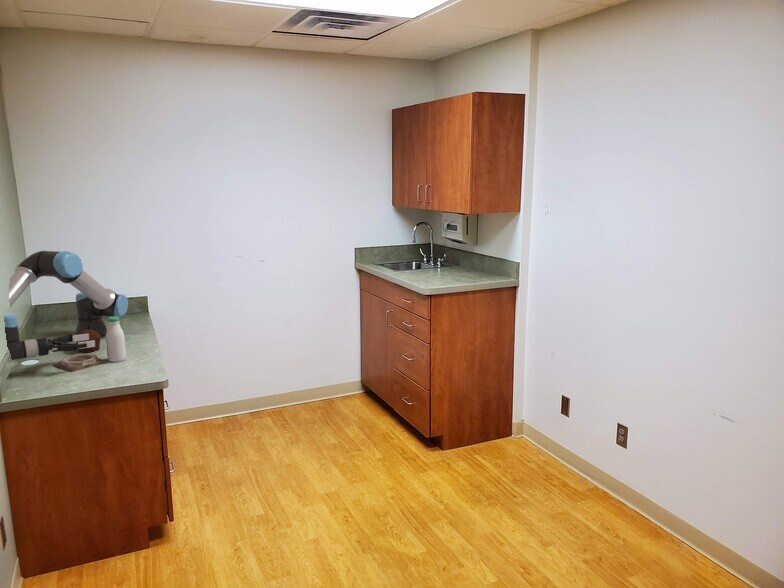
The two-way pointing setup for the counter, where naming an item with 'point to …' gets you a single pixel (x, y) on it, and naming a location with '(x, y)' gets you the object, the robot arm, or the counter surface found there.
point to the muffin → (92, 336)
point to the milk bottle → (115, 341)
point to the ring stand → (79, 362)
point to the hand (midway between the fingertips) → (91, 339)
